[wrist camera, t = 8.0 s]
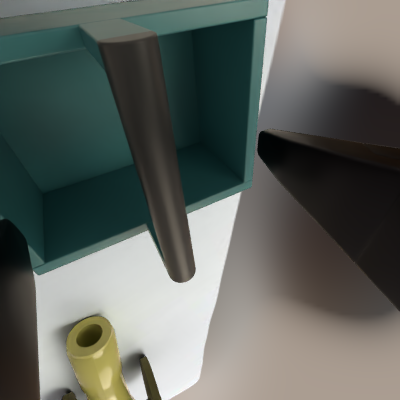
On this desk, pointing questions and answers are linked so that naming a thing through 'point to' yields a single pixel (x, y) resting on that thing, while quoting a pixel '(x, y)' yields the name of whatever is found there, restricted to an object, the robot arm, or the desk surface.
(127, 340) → the desk surface
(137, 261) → the desk surface
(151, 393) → the cannon
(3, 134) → the teal basket
